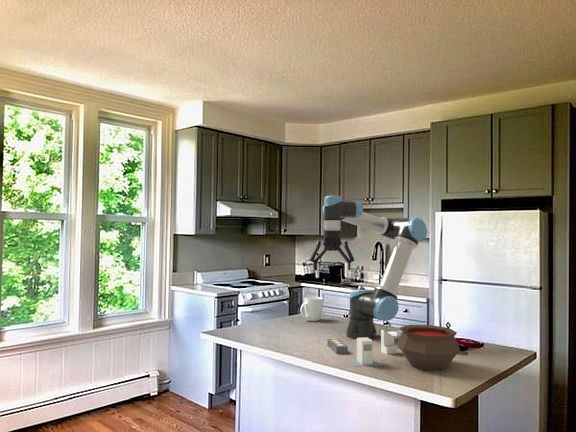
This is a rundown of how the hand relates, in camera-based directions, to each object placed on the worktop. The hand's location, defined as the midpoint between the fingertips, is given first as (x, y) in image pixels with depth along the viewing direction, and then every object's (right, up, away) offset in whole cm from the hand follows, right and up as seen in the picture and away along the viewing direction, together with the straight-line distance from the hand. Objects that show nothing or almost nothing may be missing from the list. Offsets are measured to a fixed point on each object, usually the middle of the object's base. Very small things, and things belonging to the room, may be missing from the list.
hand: (332, 277), depth 203 cm
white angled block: (+24, -32, -7) cm, 41 cm away
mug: (-6, -34, +64) cm, 73 cm away
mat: (+11, -31, -22) cm, 40 cm away
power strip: (+1, -32, 0) cm, 32 cm away
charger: (+11, -31, -22) cm, 40 cm away
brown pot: (+36, -32, -24) cm, 53 cm away
